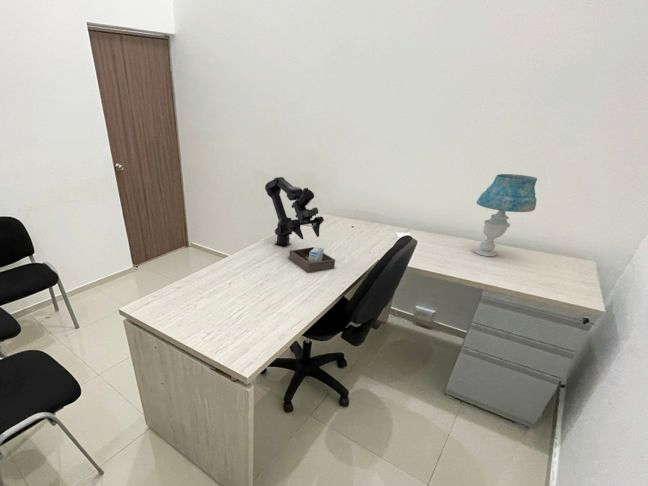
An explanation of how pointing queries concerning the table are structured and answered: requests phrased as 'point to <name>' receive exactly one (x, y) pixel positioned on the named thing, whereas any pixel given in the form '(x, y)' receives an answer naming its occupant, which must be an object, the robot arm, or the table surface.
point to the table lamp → (505, 205)
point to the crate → (302, 261)
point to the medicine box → (315, 255)
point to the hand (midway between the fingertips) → (310, 238)
